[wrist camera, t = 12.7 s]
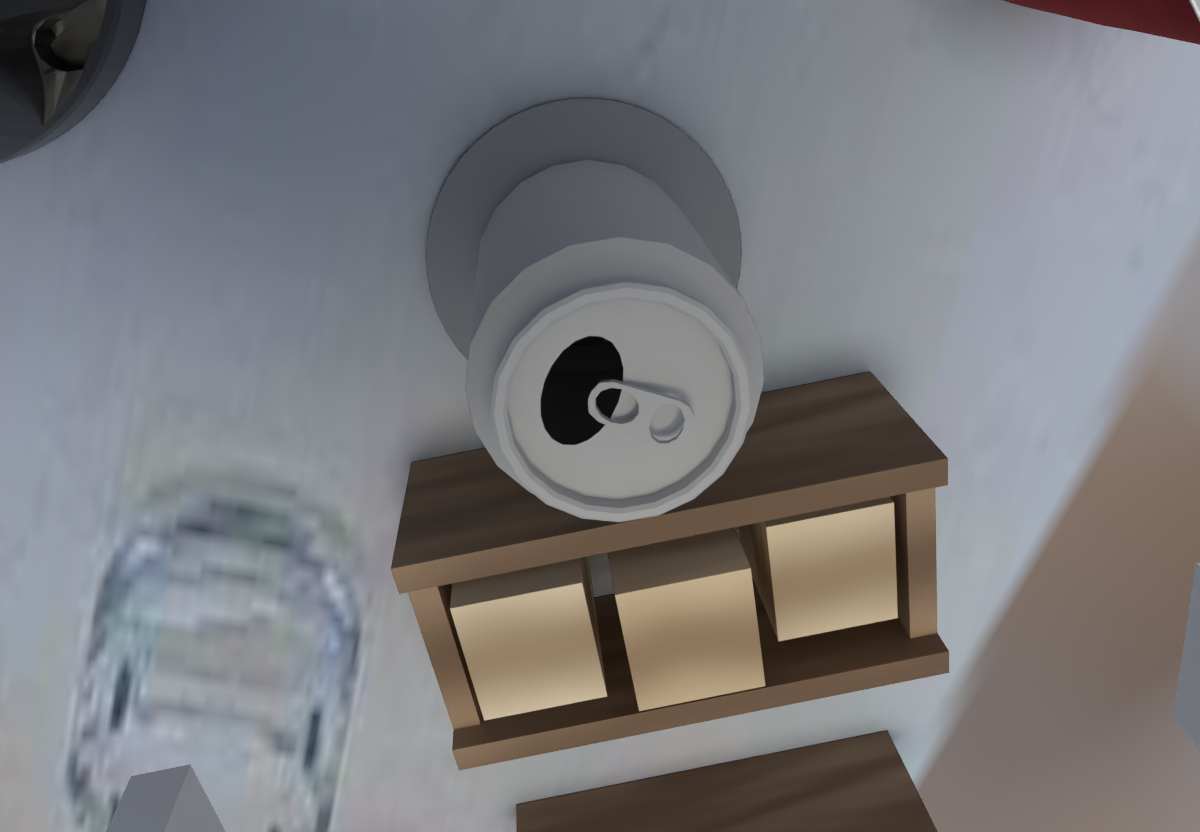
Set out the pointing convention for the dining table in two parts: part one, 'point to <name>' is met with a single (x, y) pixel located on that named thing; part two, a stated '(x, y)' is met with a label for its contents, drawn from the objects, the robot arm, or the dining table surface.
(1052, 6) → the paper cup
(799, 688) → the rack
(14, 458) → the dining table surface
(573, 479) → the can
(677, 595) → the offcut block
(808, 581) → the offcut block
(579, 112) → the mat
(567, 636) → the offcut block
